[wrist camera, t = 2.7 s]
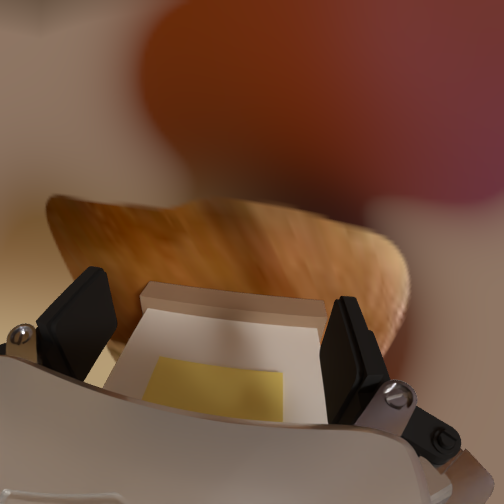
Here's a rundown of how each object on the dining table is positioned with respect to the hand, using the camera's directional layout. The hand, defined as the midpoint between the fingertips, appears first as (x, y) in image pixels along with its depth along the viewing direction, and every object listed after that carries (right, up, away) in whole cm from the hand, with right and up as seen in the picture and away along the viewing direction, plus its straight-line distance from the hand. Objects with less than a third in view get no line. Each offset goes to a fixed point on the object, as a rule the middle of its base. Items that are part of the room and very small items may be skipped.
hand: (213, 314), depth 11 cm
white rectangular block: (0, -3, +11) cm, 11 cm away
